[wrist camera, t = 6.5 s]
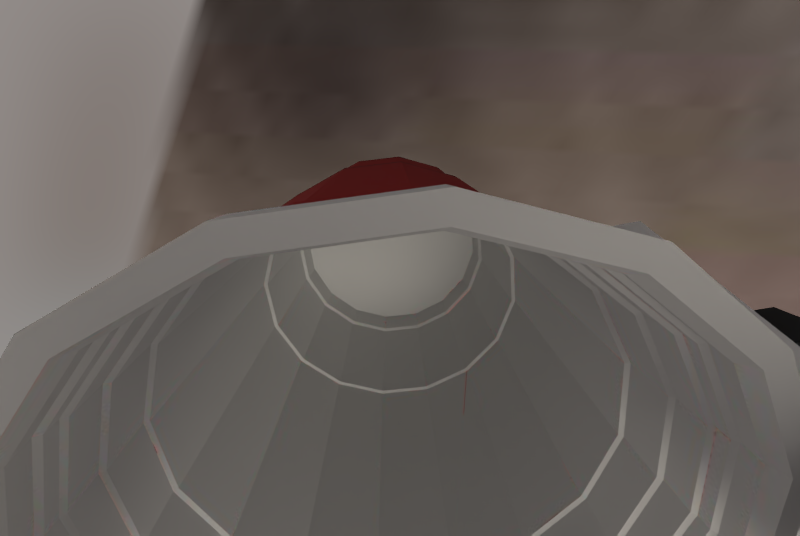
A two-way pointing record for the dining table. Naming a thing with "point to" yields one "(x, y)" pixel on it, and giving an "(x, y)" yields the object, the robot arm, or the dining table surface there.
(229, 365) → the plastic cup
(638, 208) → the dining table surface
